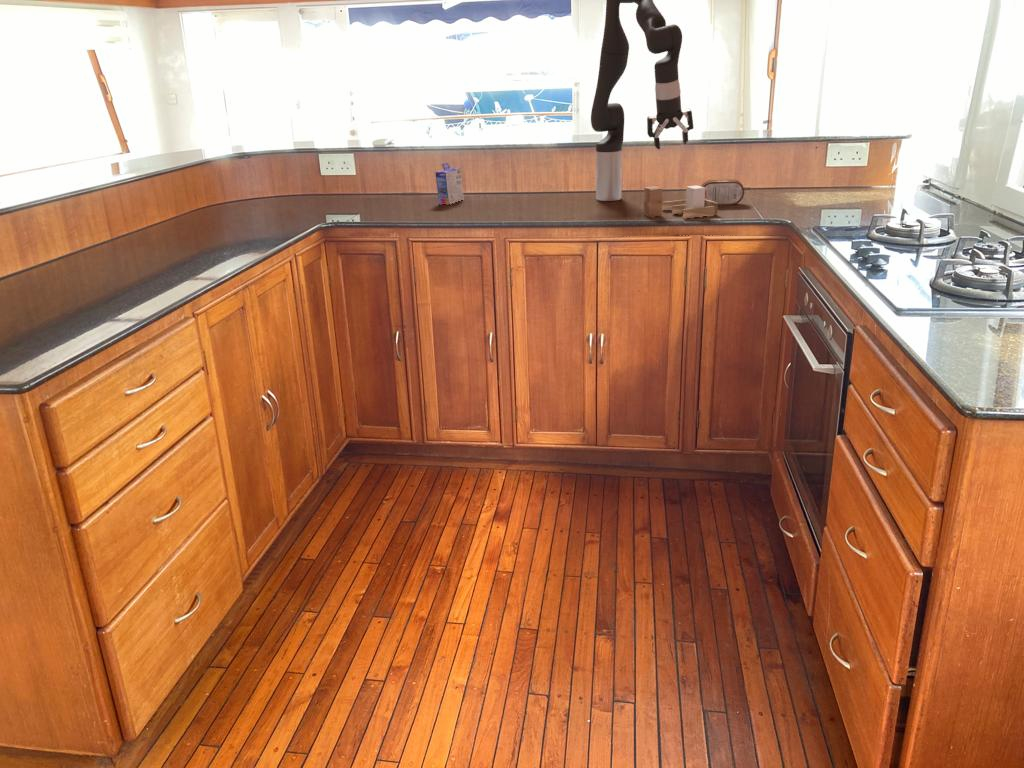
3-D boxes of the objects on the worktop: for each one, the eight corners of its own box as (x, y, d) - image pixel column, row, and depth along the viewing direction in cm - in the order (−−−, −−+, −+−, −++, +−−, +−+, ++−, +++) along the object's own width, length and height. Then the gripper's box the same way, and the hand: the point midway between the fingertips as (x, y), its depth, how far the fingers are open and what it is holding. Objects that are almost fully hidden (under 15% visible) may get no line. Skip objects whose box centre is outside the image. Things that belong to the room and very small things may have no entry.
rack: (662, 210, 269) (662, 198, 268) (694, 207, 272) (694, 195, 271) (683, 219, 256) (684, 206, 254) (717, 215, 258) (717, 202, 257)
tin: (742, 203, 275) (744, 178, 272) (744, 205, 272) (746, 180, 269) (698, 204, 276) (699, 180, 273) (699, 206, 274) (700, 181, 270)
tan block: (643, 215, 265) (644, 187, 261) (655, 213, 266) (655, 186, 262) (650, 217, 260) (651, 189, 257) (661, 216, 261) (662, 188, 258)
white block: (685, 214, 262) (686, 186, 259) (696, 213, 263) (697, 185, 260) (692, 217, 258) (693, 188, 254) (703, 215, 259) (705, 187, 255)
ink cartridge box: (452, 199, 308) (450, 161, 303) (464, 200, 306) (461, 161, 300) (437, 204, 301) (434, 165, 295) (449, 205, 298) (446, 165, 292)
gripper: (687, 87, 251) (690, 138, 260) (643, 96, 252) (647, 146, 261) (693, 93, 245) (696, 145, 254) (647, 102, 246) (651, 153, 255)
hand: (671, 145), depth 258 cm, fingers open, 8 cm apart
